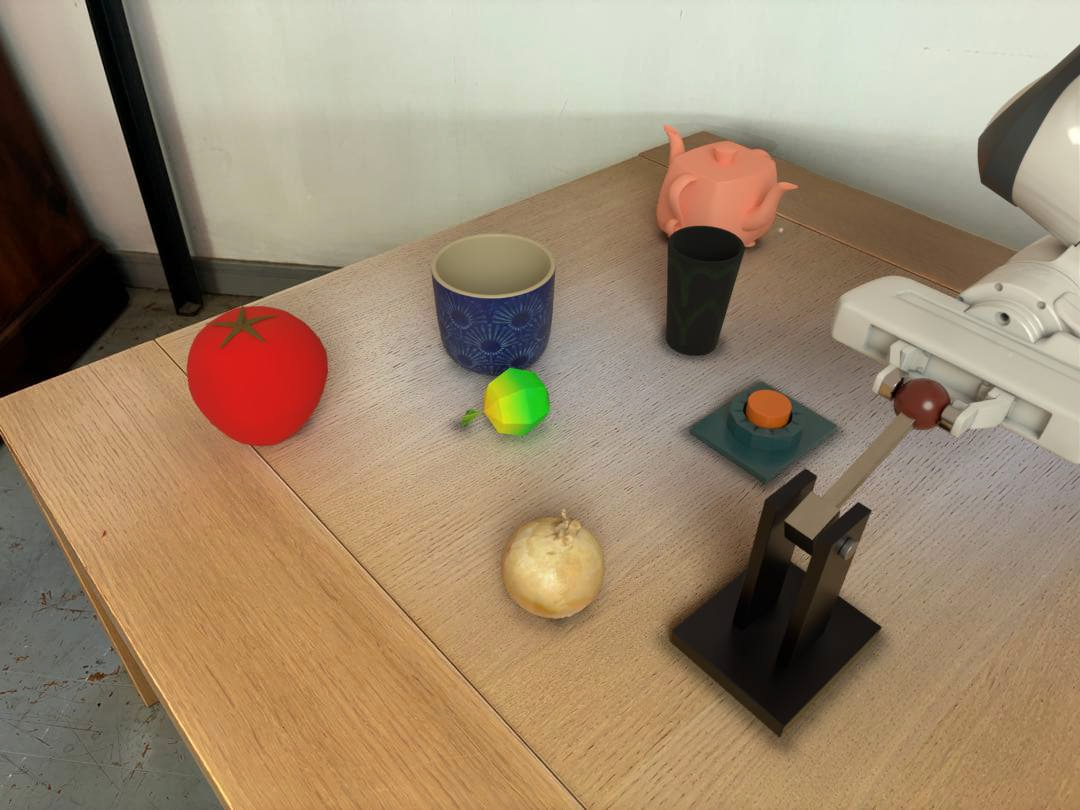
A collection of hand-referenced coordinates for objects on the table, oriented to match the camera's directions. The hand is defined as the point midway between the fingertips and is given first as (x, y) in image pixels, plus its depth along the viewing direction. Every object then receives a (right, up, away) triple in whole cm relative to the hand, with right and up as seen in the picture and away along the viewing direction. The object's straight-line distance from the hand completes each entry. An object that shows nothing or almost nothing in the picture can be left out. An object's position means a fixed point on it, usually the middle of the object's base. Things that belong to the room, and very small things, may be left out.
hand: (915, 406), depth 56 cm
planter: (-30, +6, +33) cm, 45 cm away
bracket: (-8, -17, +6) cm, 20 cm away
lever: (-3, -5, +1) cm, 6 cm away
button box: (-4, -3, +24) cm, 24 cm away
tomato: (-51, -2, +24) cm, 56 cm away
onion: (-24, -15, +10) cm, 30 cm away
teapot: (-3, +22, +52) cm, 57 cm away
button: (-4, -1, +22) cm, 23 cm away
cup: (-9, +7, +35) cm, 37 cm away
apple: (-29, -2, +24) cm, 37 cm away
